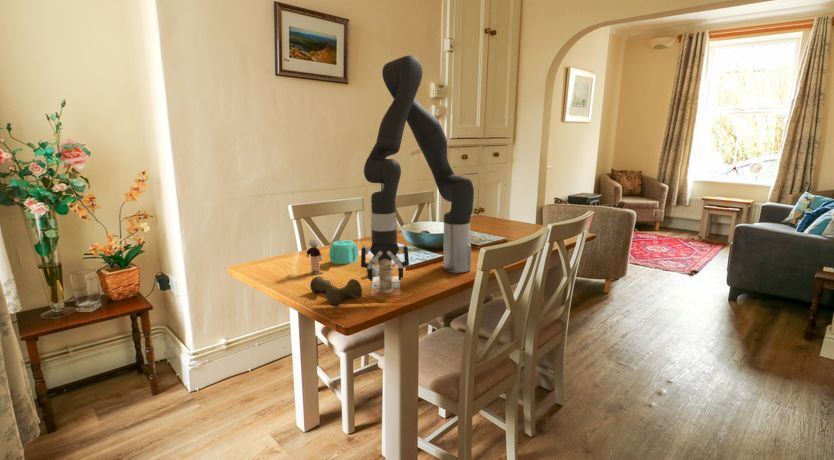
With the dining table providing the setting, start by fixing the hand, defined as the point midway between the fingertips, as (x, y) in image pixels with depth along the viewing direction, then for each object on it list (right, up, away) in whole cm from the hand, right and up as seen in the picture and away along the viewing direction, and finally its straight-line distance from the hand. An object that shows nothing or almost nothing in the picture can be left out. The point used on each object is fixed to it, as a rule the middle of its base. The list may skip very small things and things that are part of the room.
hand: (385, 279), depth 134 cm
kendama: (-15, -6, -1) cm, 16 cm away
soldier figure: (-2, -1, +19) cm, 19 cm away
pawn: (0, -4, +1) cm, 4 cm away
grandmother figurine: (-26, 0, +23) cm, 35 cm away
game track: (0, -3, +7) cm, 8 cm away
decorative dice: (-18, +2, +34) cm, 39 cm away
